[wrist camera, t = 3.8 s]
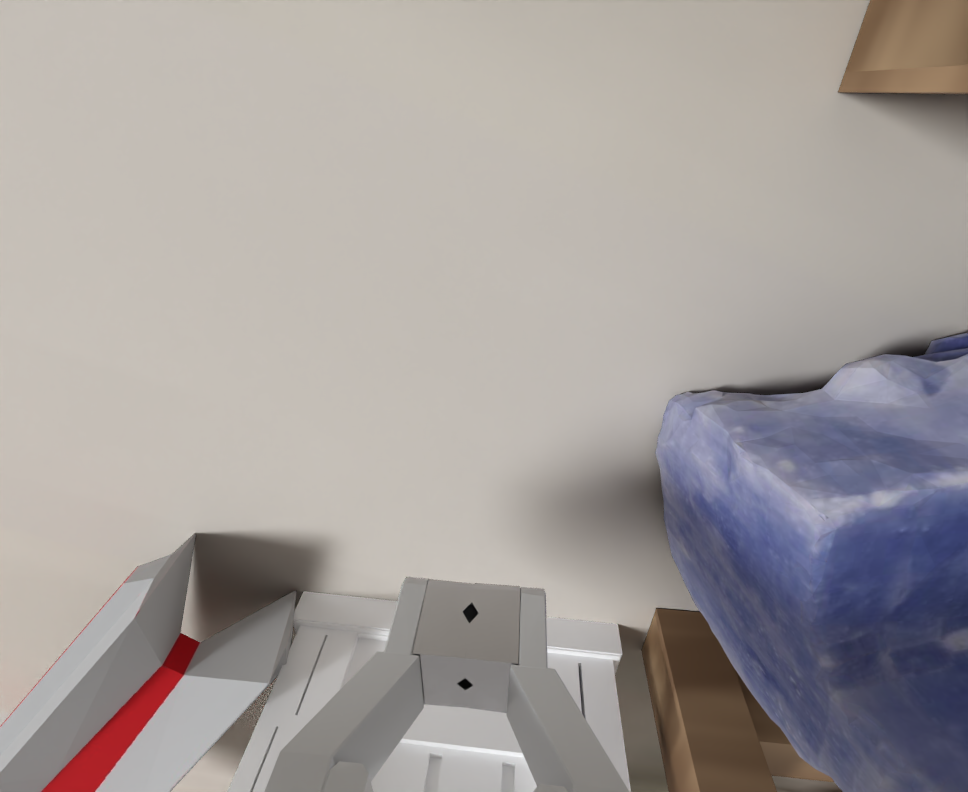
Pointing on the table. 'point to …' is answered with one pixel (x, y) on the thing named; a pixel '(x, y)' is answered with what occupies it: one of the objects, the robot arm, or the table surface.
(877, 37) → the wooden brackets
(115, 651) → the toy gun
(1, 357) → the table surface
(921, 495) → the mineral
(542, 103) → the table surface
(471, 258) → the table surface
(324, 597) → the castle model
